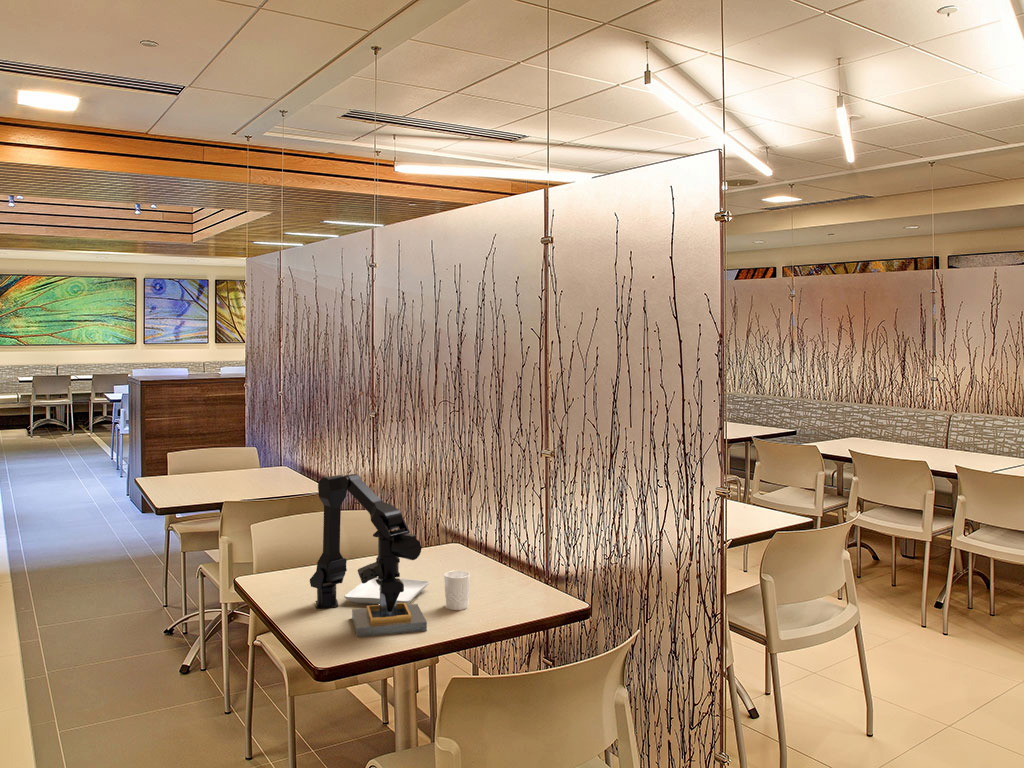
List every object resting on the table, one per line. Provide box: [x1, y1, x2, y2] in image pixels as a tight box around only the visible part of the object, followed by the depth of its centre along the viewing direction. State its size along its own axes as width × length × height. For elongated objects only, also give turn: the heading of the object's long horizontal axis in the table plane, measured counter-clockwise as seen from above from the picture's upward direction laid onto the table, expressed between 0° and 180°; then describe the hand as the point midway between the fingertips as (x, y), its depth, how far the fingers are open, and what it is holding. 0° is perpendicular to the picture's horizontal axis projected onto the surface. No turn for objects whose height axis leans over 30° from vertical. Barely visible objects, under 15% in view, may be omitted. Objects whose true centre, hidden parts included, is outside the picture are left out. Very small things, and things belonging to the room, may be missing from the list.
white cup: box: [443, 570, 471, 611], centre depth 235 cm, size 8×8×10 cm
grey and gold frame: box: [351, 603, 428, 638], centre depth 219 cm, size 16×19×4 cm
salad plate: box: [343, 577, 430, 605], centre depth 244 cm, size 21×21×3 cm
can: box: [380, 592, 397, 617], centre depth 219 cm, size 5×5×8 cm
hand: (388, 608), depth 219 cm, fingers closed on can, 5 cm apart
